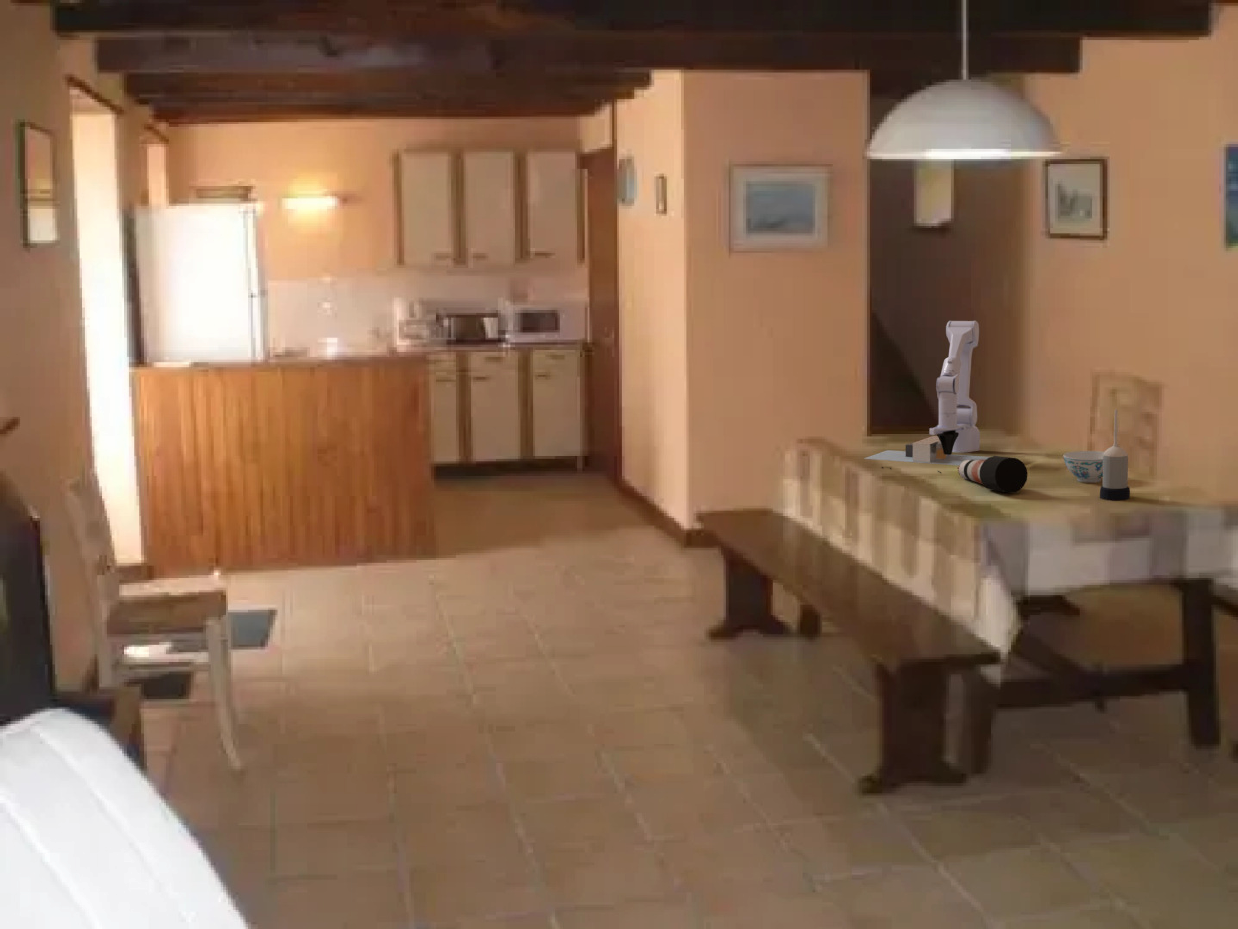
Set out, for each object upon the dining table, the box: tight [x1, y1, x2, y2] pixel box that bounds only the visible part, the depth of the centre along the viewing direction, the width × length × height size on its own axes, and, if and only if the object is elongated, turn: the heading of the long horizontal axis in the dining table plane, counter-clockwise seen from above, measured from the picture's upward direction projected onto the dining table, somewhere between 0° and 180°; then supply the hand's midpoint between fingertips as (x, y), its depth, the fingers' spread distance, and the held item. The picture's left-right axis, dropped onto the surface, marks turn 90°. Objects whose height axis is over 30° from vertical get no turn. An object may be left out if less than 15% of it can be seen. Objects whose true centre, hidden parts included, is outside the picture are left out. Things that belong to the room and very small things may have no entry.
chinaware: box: [1063, 450, 1105, 483], centre depth 464 cm, size 15×15×8 cm
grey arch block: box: [912, 435, 949, 464], centre depth 507 cm, size 6×16×6 cm, turn 145°
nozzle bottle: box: [1099, 409, 1131, 502], centre depth 436 cm, size 8×8×25 cm
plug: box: [905, 442, 946, 459], centre depth 510 cm, size 13×4×4 cm, turn 52°
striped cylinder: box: [957, 455, 1028, 494], centre depth 462 cm, size 10×34×10 cm, turn 11°
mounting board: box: [863, 449, 990, 466], centre depth 508 cm, size 39×18×1 cm, turn 55°
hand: (947, 454), depth 504 cm, fingers closed
